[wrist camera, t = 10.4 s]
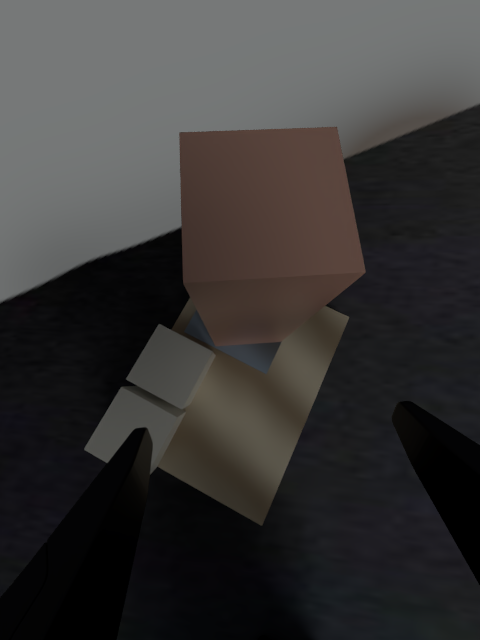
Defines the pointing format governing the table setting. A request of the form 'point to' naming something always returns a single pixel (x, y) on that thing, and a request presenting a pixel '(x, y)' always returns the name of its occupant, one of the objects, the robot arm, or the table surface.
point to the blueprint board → (249, 411)
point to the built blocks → (154, 394)
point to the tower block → (265, 229)
